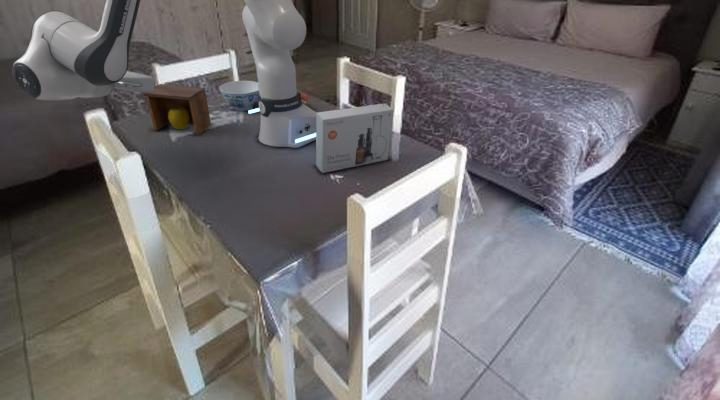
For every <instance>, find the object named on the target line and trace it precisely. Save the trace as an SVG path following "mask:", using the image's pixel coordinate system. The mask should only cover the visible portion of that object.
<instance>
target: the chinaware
mask: <svg viewBox="0 0 720 400" xmlns="http://www.w3.org/2000/svg"><path fill="white" fill-rule="evenodd" d="M218 90H219V92H220V94H221V96H222V98H223V100H224V101H225V102H226V103H227V104H229V105H230V106H232V107H233V109H234V110H236V111H240V112H244V111H245V112H246V111H249V110H253V108H254V105H256V104H257V102H258V94H259V87H258V81H253V80H235V81H233V80H232V81H227V82H225V83H223V84H220V85H219V87H218Z"/></svg>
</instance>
